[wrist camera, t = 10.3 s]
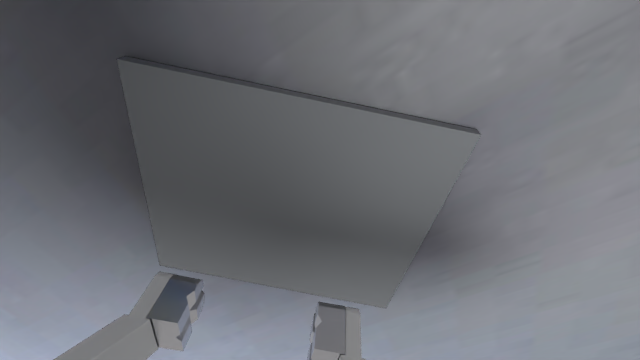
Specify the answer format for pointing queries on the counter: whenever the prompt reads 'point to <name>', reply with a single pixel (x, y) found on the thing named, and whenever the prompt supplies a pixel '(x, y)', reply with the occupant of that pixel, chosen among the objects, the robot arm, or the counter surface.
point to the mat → (286, 181)
